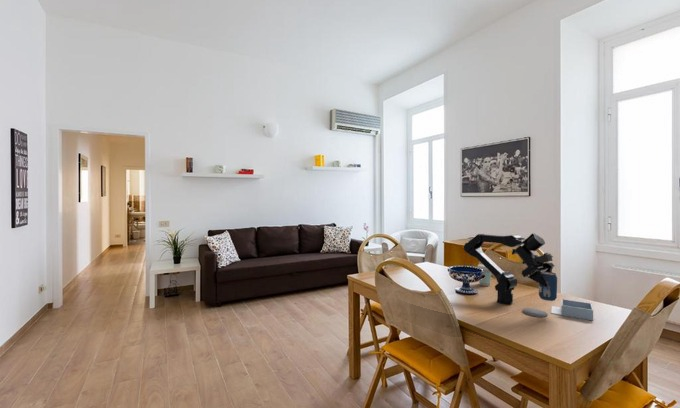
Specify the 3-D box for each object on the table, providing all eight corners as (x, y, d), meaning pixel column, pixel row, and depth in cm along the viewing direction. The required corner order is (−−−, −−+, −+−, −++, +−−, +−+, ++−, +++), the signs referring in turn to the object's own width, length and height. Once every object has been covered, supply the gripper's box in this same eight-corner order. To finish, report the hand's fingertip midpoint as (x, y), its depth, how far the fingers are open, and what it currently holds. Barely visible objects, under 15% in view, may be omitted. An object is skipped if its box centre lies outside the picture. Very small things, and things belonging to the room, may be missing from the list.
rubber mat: (521, 314, 151) (521, 313, 151) (523, 308, 159) (523, 307, 159) (547, 318, 145) (547, 317, 145) (547, 312, 154) (547, 311, 154)
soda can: (551, 296, 154) (552, 271, 153) (559, 301, 147) (560, 275, 146) (535, 296, 155) (536, 270, 154) (543, 301, 148) (544, 274, 147)
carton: (551, 313, 152) (551, 303, 152) (552, 304, 165) (552, 295, 165) (593, 320, 144) (593, 310, 144) (590, 310, 156) (590, 301, 156)
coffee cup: (495, 286, 199) (495, 266, 199) (484, 287, 196) (484, 267, 196) (484, 282, 207) (484, 263, 207) (473, 283, 204) (474, 264, 204)
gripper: (529, 248, 148) (554, 278, 139) (550, 245, 158) (575, 273, 149) (511, 262, 155) (534, 291, 146) (533, 258, 165) (556, 286, 156)
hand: (551, 285), depth 149 cm, fingers closed on soda can, 7 cm apart
